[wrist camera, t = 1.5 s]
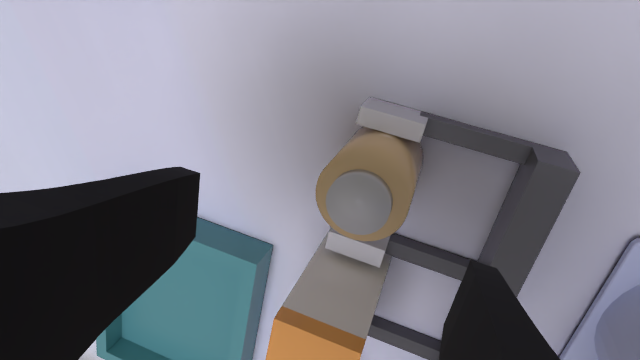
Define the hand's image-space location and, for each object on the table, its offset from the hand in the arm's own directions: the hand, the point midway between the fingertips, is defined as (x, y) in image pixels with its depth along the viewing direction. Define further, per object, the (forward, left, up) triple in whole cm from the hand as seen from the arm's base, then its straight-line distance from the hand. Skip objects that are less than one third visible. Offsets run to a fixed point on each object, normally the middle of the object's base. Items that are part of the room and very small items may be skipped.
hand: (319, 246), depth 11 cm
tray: (+10, +15, -11) cm, 20 cm away
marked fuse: (0, +8, -11) cm, 13 cm away
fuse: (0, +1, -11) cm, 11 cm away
